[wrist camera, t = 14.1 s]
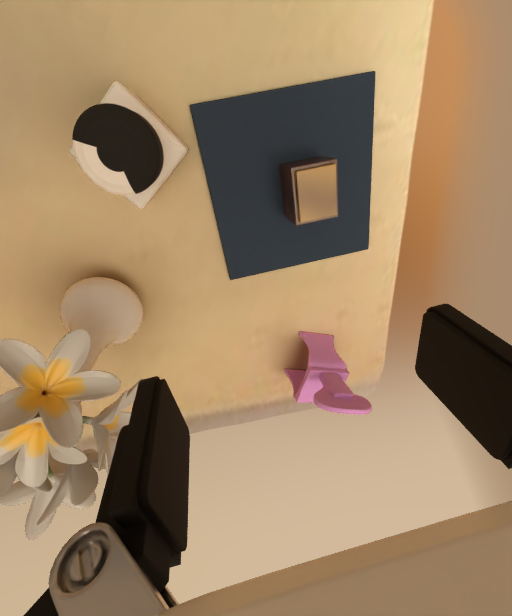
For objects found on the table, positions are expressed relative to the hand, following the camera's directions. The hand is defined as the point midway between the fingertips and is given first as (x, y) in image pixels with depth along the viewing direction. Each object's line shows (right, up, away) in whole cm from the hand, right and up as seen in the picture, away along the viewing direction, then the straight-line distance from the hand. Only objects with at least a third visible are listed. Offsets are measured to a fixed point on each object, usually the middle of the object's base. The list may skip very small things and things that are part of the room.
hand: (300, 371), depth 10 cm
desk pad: (+3, +17, +26) cm, 31 cm away
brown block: (+4, +17, +25) cm, 31 cm away
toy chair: (+7, -6, +40) cm, 41 cm away
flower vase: (-21, +3, +29) cm, 36 cm away
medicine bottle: (-14, +19, +21) cm, 32 cm away
